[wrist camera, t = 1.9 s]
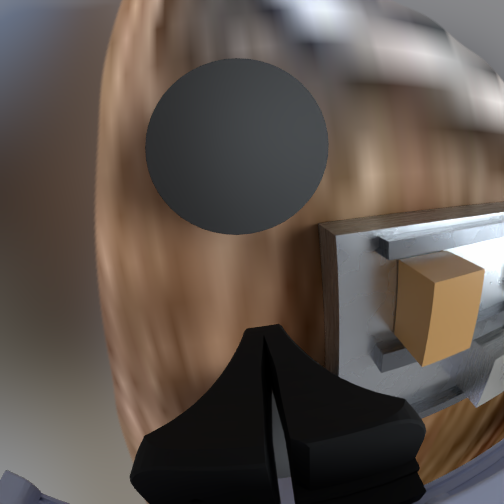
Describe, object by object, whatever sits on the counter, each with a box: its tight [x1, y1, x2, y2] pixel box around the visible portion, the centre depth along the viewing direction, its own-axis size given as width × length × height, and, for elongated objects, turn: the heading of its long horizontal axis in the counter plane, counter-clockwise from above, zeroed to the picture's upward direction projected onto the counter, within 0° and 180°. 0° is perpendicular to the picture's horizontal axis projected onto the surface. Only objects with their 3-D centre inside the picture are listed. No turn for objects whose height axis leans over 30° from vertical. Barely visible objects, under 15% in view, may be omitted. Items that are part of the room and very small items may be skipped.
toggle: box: [394, 250, 485, 367], centre depth 11 cm, size 3×4×3 cm
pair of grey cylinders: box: [145, 58, 328, 478], centre depth 13 cm, size 6×21×5 cm, turn 8°
